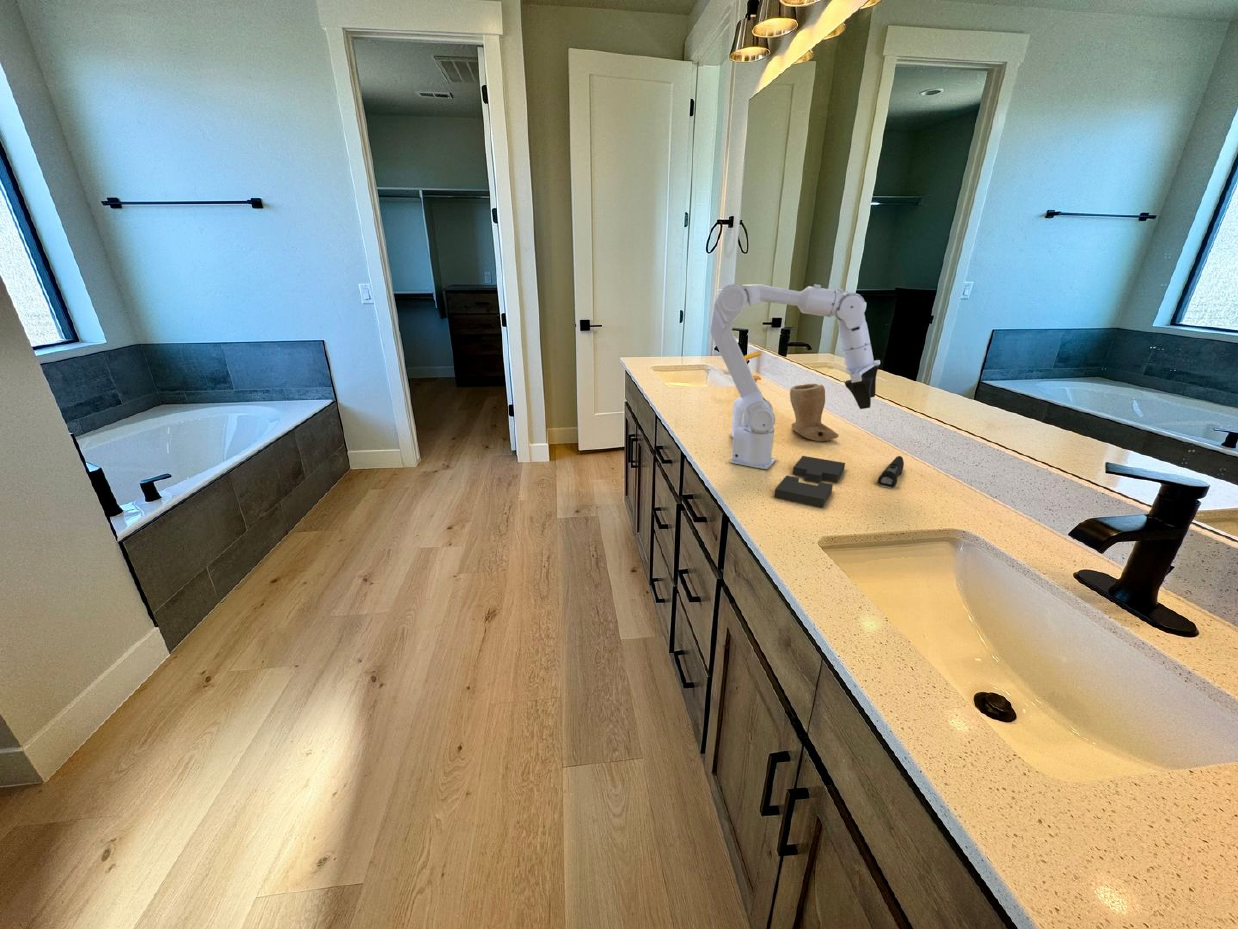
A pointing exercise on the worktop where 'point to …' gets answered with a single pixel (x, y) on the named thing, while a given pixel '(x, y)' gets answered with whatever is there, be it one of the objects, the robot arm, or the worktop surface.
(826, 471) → the pad
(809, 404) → the brown boot
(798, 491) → the notch pad
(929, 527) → the worktop surface
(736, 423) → the soap bottle
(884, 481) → the electric trimmer
